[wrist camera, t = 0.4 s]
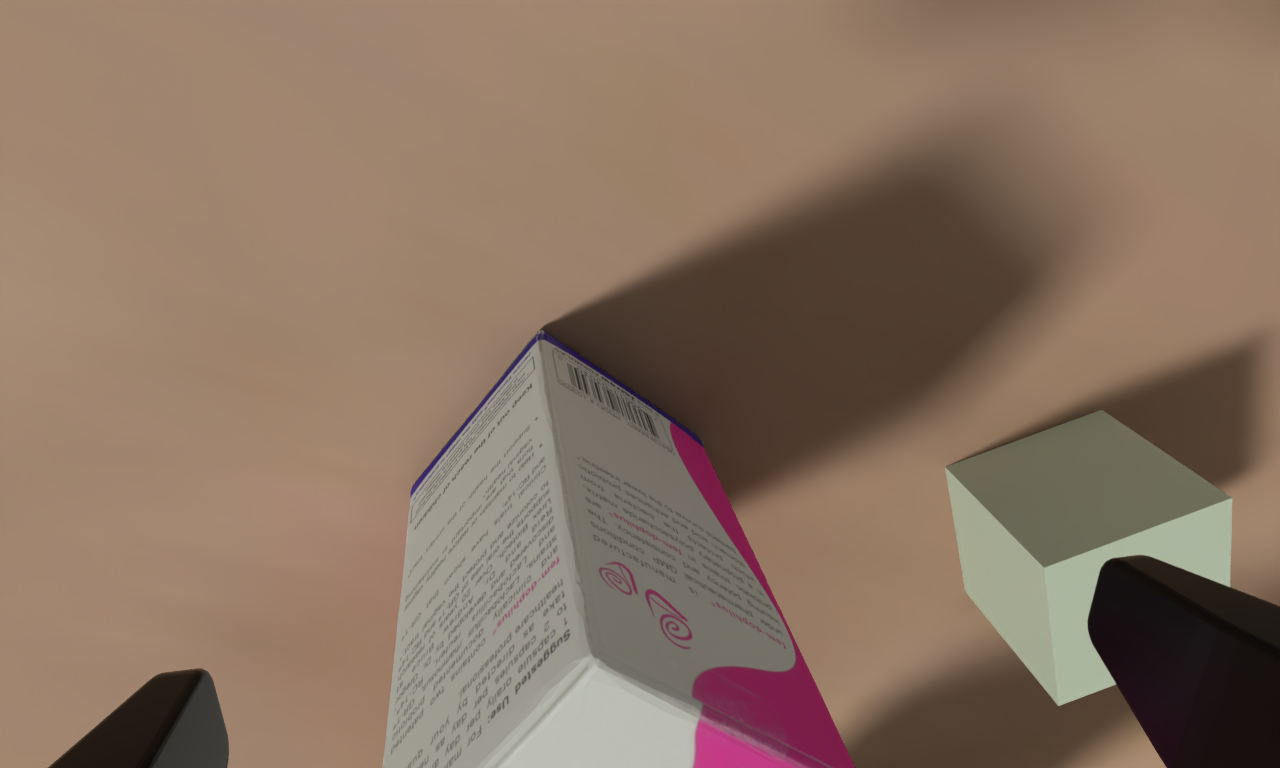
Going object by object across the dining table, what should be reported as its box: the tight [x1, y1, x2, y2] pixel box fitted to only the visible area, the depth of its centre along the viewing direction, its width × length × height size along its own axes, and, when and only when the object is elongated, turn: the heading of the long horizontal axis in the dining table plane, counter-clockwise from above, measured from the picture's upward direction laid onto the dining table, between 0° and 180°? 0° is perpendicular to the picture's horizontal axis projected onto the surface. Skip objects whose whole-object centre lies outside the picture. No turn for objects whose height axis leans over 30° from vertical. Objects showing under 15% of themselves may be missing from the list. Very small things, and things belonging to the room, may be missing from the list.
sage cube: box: [945, 410, 1232, 706], centre depth 25 cm, size 5×5×5 cm
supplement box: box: [383, 330, 855, 768], centre depth 18 cm, size 6×6×12 cm
